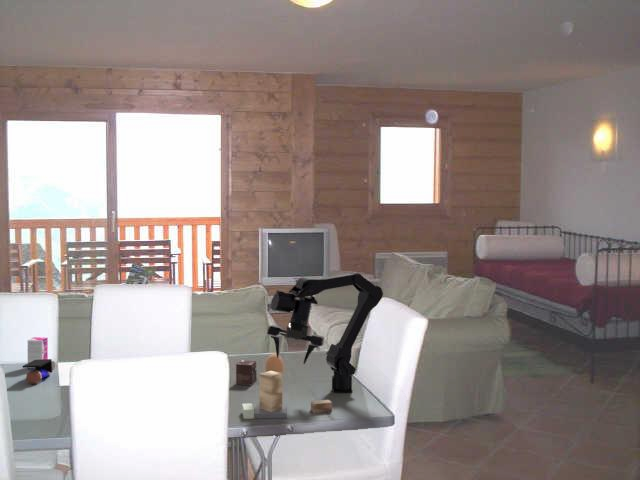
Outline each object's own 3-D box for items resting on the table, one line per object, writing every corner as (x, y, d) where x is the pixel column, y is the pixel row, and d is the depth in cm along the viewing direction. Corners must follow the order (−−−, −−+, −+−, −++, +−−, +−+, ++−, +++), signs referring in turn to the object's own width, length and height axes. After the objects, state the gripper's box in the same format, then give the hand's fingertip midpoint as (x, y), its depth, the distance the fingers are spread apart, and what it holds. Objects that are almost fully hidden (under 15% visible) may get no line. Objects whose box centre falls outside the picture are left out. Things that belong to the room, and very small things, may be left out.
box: (251, 385, 248) (251, 365, 248) (235, 384, 250) (235, 364, 249) (256, 380, 254) (256, 361, 254) (241, 379, 256) (240, 360, 255)
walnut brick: (328, 408, 223) (328, 399, 223) (331, 411, 220) (331, 402, 220) (310, 410, 221) (310, 401, 221) (313, 413, 219) (313, 404, 218)
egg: (287, 376, 260) (287, 353, 259) (277, 381, 254) (277, 357, 253) (271, 374, 263) (271, 350, 262) (261, 378, 257) (261, 354, 256)
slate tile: (287, 407, 224) (287, 403, 223) (286, 418, 214) (286, 413, 213) (255, 407, 223) (255, 403, 223) (253, 418, 213) (253, 413, 213)
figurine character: (37, 378, 262) (21, 385, 247) (37, 357, 262) (21, 363, 247) (55, 378, 262) (40, 385, 247) (56, 357, 262) (41, 363, 247)
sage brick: (242, 413, 219) (242, 403, 218) (251, 412, 219) (251, 403, 219) (244, 419, 213) (244, 409, 213) (253, 418, 213) (253, 409, 213)
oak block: (271, 404, 222) (271, 370, 221) (282, 408, 218) (282, 373, 218) (259, 408, 218) (259, 373, 217) (270, 411, 215) (270, 376, 214)
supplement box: (42, 369, 268) (41, 340, 267) (27, 369, 268) (26, 340, 267) (48, 365, 274) (47, 337, 273) (33, 365, 274) (32, 336, 273)
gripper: (268, 310, 228) (258, 357, 227) (324, 322, 225) (314, 370, 225) (275, 308, 239) (266, 353, 238) (328, 320, 236) (319, 365, 236)
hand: (290, 360), depth 234 cm, fingers open, 9 cm apart
